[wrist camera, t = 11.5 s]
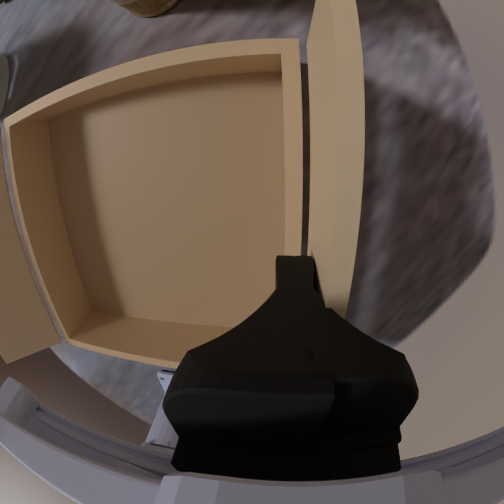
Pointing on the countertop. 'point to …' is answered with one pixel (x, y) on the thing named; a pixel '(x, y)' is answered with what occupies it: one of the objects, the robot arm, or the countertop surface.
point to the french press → (3, 79)
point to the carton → (162, 194)
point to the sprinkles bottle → (145, 6)
